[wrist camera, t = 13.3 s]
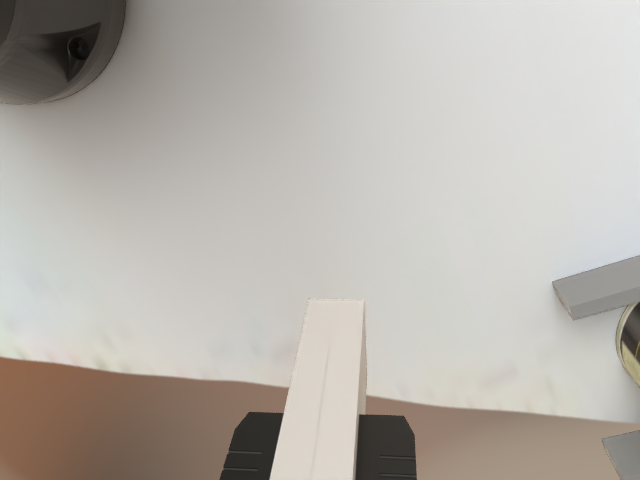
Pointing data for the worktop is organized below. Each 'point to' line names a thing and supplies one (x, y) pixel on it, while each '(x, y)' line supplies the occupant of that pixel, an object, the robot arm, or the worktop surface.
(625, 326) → the coffee can
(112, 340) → the worktop surface
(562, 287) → the frame
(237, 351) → the worktop surface
